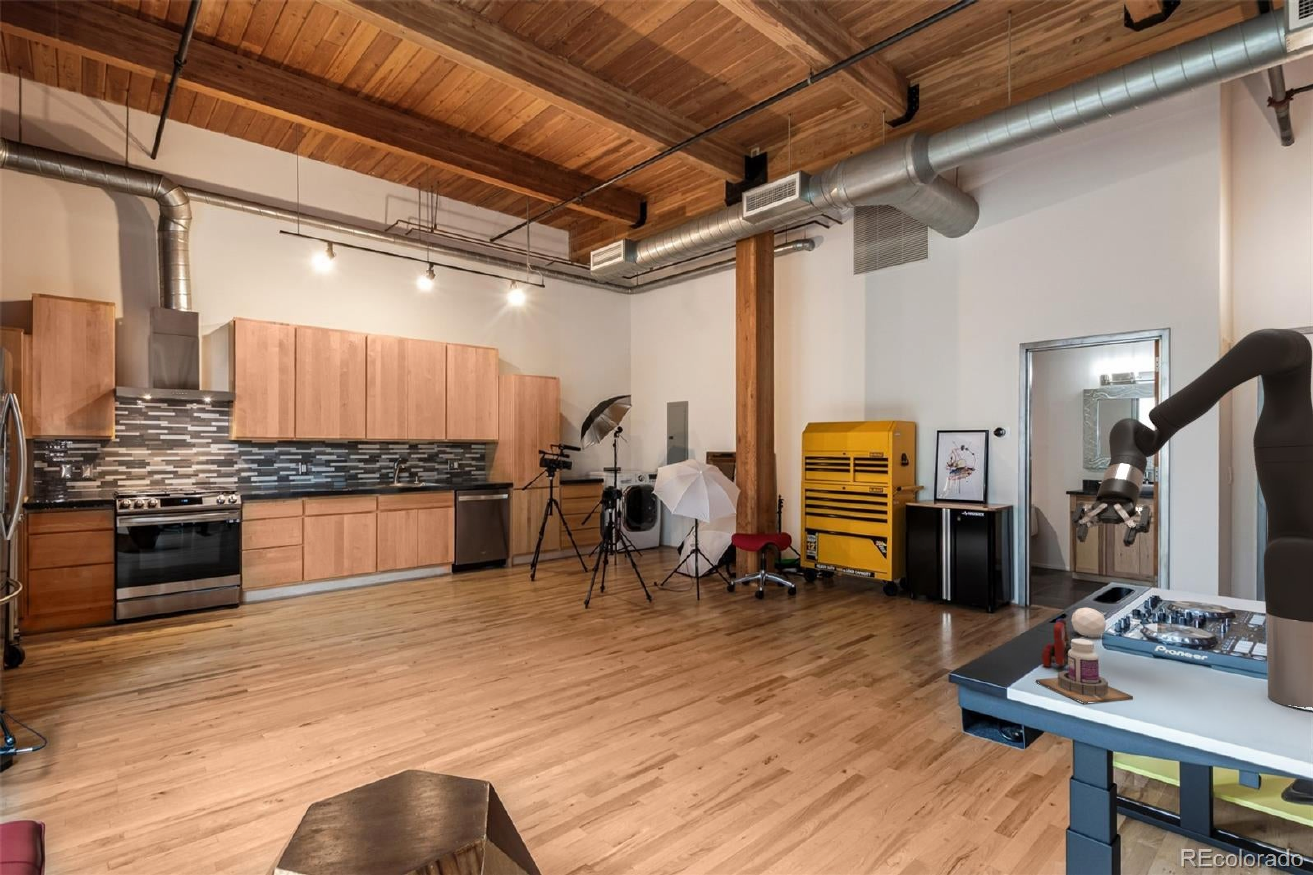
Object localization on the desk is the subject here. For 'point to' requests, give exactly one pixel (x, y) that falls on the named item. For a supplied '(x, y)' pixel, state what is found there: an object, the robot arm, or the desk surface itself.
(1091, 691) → the collar
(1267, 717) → the desk surface
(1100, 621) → the geometric ball
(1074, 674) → the pill bottle
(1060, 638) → the dark red upright piece
